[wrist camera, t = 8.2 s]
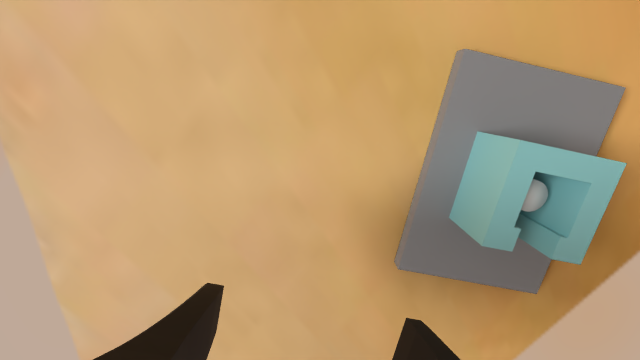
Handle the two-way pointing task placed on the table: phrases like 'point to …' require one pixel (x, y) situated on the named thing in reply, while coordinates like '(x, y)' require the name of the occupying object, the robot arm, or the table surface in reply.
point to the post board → (508, 121)
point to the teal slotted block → (512, 187)
